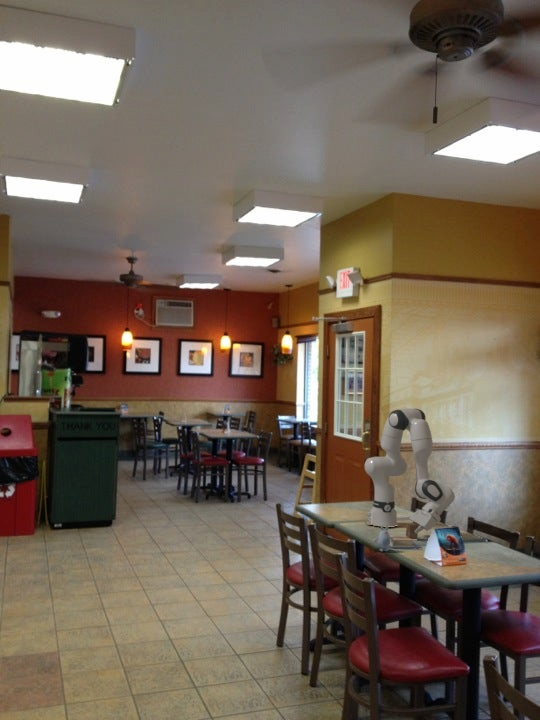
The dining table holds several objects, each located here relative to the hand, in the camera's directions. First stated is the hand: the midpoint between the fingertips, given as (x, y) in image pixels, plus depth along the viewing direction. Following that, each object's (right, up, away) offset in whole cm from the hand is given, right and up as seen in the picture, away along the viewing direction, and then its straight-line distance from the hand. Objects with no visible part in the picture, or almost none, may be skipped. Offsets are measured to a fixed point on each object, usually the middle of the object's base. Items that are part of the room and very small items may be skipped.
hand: (411, 530), depth 344 cm
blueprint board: (-9, -3, -14) cm, 17 cm away
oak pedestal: (-10, -3, -15) cm, 18 cm away
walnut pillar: (0, -4, 0) cm, 4 cm away
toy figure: (-19, -3, -28) cm, 34 cm away
